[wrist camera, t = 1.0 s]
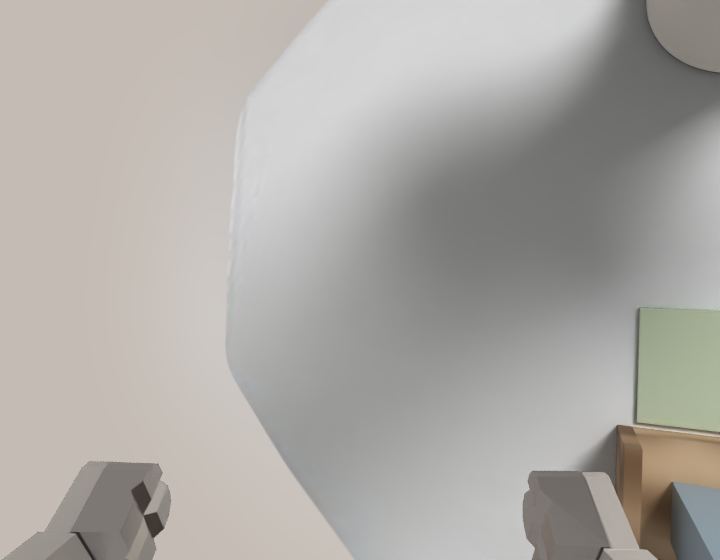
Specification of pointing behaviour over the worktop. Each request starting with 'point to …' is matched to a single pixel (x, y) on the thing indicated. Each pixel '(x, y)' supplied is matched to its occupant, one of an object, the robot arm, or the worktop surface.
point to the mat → (679, 368)
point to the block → (695, 522)
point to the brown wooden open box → (660, 479)
